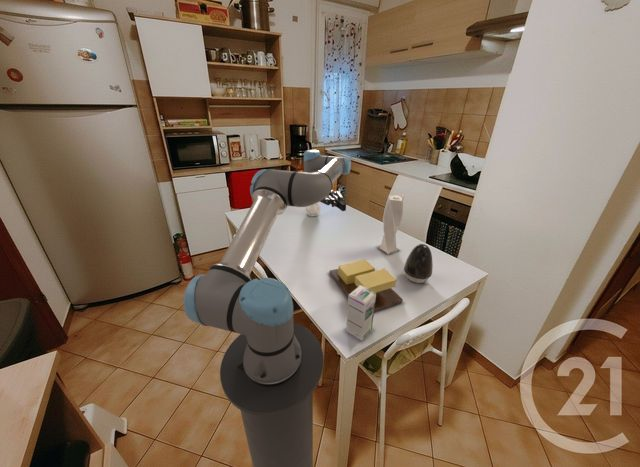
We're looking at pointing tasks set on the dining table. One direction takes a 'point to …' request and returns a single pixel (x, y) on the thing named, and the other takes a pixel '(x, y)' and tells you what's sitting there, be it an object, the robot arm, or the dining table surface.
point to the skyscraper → (391, 223)
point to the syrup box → (360, 312)
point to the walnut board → (382, 297)
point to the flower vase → (313, 209)
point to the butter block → (354, 270)
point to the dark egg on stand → (419, 264)
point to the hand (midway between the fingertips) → (344, 207)
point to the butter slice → (376, 280)
